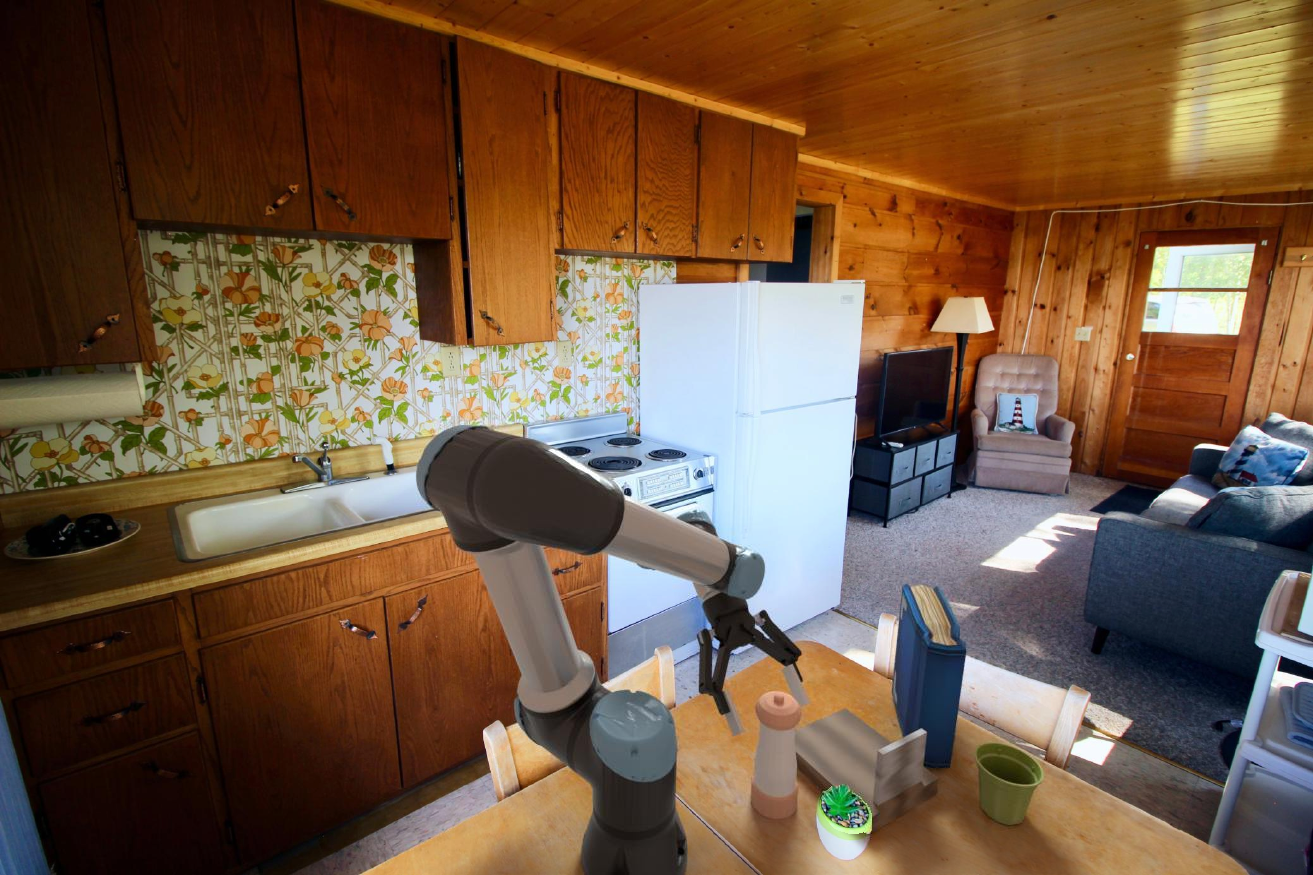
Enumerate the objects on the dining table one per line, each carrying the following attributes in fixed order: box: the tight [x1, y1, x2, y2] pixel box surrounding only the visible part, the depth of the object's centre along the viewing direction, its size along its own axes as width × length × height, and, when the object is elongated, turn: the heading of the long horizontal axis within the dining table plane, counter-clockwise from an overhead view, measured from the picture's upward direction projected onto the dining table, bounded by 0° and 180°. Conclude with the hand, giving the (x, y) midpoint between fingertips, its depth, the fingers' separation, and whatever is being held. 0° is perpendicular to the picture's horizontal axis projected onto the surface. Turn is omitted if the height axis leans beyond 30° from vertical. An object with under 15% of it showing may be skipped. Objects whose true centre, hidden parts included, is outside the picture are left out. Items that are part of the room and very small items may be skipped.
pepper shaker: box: [750, 690, 803, 820], centre depth 96 cm, size 7×7×19 cm
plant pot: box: [973, 741, 1045, 826], centre depth 95 cm, size 9×9×9 cm
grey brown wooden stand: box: [795, 707, 940, 834], centre depth 103 cm, size 16×20×12 cm
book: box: [891, 583, 968, 770], centre depth 111 cm, size 22×7×25 cm, turn 168°
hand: (772, 719), depth 99 cm, fingers open, 13 cm apart
